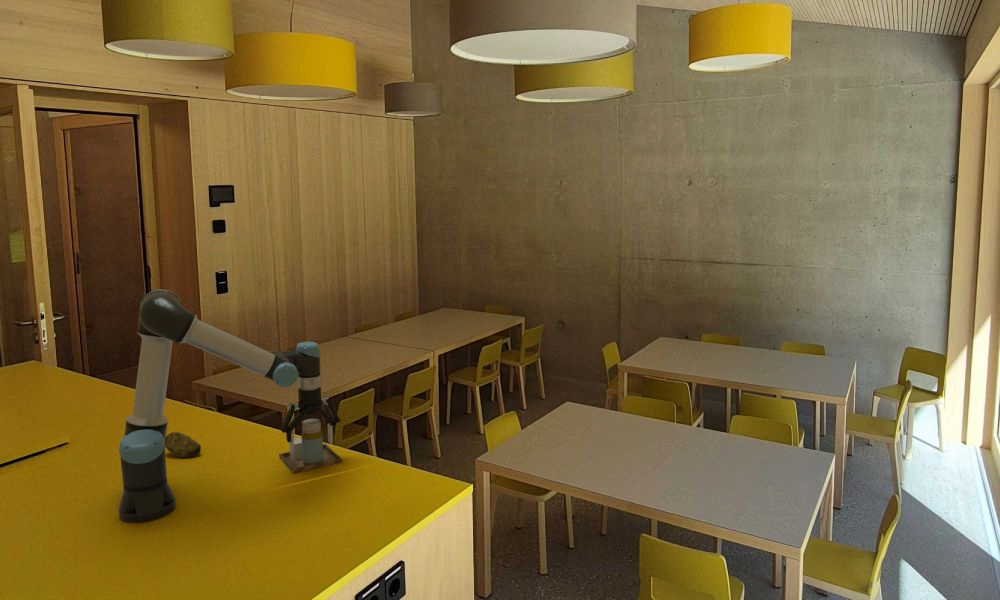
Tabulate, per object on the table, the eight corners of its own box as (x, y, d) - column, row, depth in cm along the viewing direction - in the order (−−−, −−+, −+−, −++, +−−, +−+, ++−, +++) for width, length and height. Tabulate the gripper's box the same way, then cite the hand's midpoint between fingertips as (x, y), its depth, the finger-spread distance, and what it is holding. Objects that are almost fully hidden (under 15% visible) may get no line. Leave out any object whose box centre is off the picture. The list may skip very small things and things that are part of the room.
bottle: (298, 463, 239) (296, 422, 236) (315, 457, 244) (313, 416, 242) (311, 468, 235) (309, 426, 232) (327, 462, 240) (326, 421, 238)
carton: (294, 460, 241) (293, 444, 240) (289, 456, 245) (288, 440, 244) (321, 454, 247) (321, 438, 246) (317, 450, 251) (316, 434, 250)
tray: (293, 475, 231) (293, 469, 231) (279, 459, 244) (279, 453, 244) (341, 463, 240) (341, 458, 240) (325, 449, 253) (325, 443, 253)
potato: (183, 462, 241) (181, 441, 239) (160, 455, 247) (159, 434, 246) (204, 454, 248) (202, 433, 247) (181, 447, 254) (180, 427, 253)
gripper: (275, 396, 225) (278, 457, 229) (348, 384, 239) (349, 442, 242) (269, 390, 231) (272, 450, 235) (340, 379, 245) (342, 436, 248)
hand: (311, 446), depth 238 cm, fingers open, 13 cm apart
